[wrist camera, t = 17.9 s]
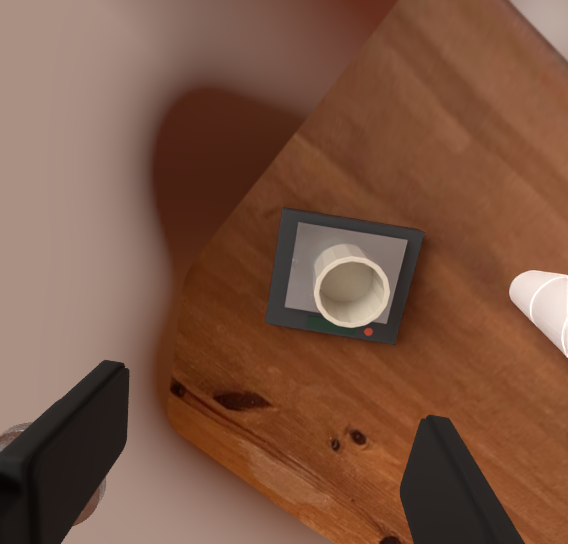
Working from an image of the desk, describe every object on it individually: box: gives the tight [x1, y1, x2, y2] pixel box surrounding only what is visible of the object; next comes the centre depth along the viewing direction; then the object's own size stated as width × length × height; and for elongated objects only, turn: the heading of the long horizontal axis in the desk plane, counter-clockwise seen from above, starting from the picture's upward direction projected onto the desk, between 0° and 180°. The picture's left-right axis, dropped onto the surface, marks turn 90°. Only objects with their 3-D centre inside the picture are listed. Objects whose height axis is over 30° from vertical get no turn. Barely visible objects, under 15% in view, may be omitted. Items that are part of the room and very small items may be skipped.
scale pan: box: [285, 221, 408, 324], centre depth 39 cm, size 12×10×1 cm
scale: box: [265, 207, 424, 345], centre depth 41 cm, size 16×14×3 cm
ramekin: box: [312, 244, 390, 328], centre depth 36 cm, size 7×7×6 cm
